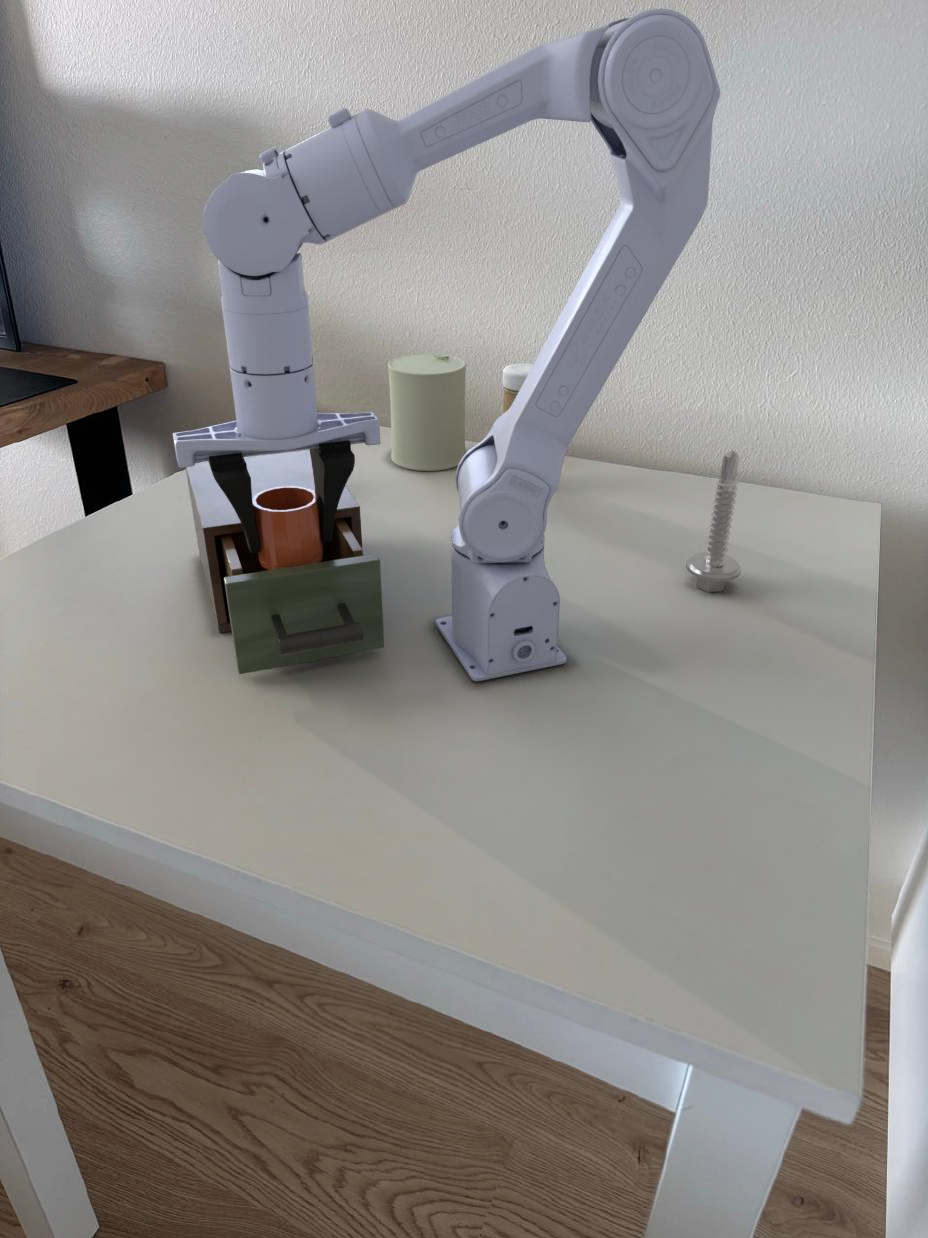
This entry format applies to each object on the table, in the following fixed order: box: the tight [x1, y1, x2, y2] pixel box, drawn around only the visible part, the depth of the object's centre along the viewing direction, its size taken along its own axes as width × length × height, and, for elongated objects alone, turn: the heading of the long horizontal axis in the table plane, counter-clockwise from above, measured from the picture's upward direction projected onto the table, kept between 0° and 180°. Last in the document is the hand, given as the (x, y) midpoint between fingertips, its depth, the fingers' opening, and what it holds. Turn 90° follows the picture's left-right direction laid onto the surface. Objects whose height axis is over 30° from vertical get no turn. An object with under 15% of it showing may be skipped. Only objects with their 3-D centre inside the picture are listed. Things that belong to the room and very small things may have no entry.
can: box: [387, 353, 467, 472], centre depth 108 cm, size 9×9×12 cm
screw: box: [685, 450, 742, 593], centre depth 79 cm, size 13×5×5 cm
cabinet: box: [185, 449, 363, 634], centre depth 81 cm, size 15×13×10 cm
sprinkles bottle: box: [501, 363, 534, 415], centre depth 100 cm, size 5×5×14 cm
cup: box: [252, 486, 323, 570], centre depth 69 cm, size 5×5×5 cm
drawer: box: [217, 518, 385, 675], centre depth 72 cm, size 18×11×8 cm, turn 20°
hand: (290, 542), depth 69 cm, fingers closed on cup, 5 cm apart
